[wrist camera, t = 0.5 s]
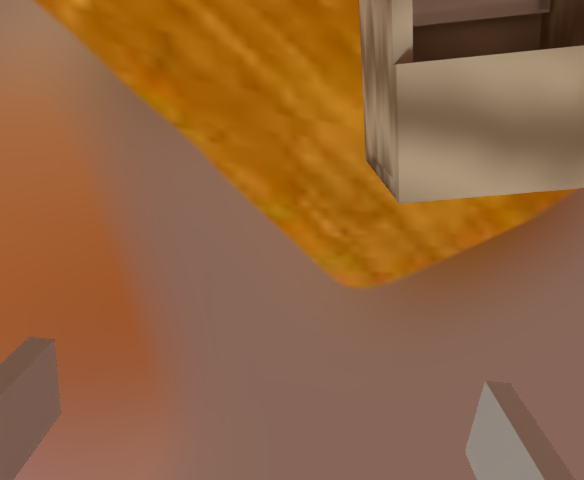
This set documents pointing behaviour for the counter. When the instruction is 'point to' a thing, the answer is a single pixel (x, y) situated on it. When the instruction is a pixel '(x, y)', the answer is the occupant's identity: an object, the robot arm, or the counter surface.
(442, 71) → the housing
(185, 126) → the counter surface
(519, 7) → the tray
